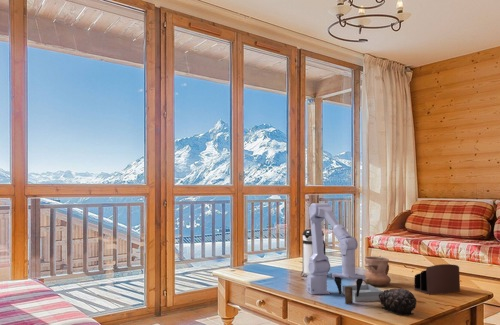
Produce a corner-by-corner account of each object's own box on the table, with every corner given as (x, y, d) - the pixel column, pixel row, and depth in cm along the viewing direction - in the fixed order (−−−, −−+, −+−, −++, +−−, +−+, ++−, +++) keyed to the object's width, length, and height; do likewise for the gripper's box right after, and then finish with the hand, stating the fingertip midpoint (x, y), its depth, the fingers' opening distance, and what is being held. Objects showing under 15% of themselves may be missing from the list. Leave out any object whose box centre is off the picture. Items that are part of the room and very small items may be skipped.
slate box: (355, 301, 191) (355, 292, 192) (342, 294, 205) (342, 285, 205) (383, 300, 194) (383, 291, 194) (369, 292, 208) (369, 284, 208)
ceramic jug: (375, 289, 215) (375, 261, 216) (355, 283, 228) (355, 256, 229) (399, 286, 224) (399, 259, 225) (378, 280, 237) (378, 254, 238)
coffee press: (330, 279, 238) (329, 225, 240) (301, 278, 239) (301, 225, 241) (325, 273, 256) (325, 223, 258) (299, 272, 256) (298, 223, 258)
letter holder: (460, 292, 211) (459, 263, 211) (427, 295, 205) (427, 265, 205) (445, 287, 220) (445, 260, 221) (414, 290, 214) (413, 262, 215)
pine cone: (385, 304, 187) (384, 281, 188) (421, 314, 173) (421, 289, 173) (370, 308, 181) (369, 284, 182) (406, 318, 167) (405, 293, 167)
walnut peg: (347, 304, 187) (346, 288, 187) (344, 302, 190) (344, 286, 190) (353, 304, 187) (353, 288, 188) (350, 302, 190) (350, 286, 191)
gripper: (330, 264, 189) (331, 295, 188) (363, 267, 183) (364, 298, 182) (333, 262, 195) (334, 292, 194) (366, 264, 190) (366, 295, 189)
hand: (348, 295), depth 189 cm, fingers open, 7 cm apart
